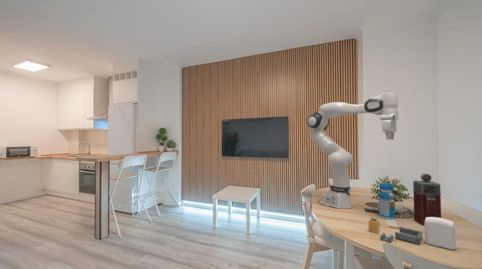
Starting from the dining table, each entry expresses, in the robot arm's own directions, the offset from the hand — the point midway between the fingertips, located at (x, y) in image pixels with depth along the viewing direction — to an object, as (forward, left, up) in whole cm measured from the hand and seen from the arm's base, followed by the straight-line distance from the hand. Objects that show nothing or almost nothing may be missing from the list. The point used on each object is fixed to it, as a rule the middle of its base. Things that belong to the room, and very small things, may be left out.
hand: (390, 139), depth 137 cm
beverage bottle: (-2, -4, -48) cm, 48 cm away
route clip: (+6, -39, -48) cm, 62 cm away
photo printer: (+24, -29, -48) cm, 61 cm away
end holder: (+13, -30, -48) cm, 58 cm away
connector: (-1, -33, -48) cm, 58 cm away
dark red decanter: (+17, 0, -48) cm, 51 cm away
